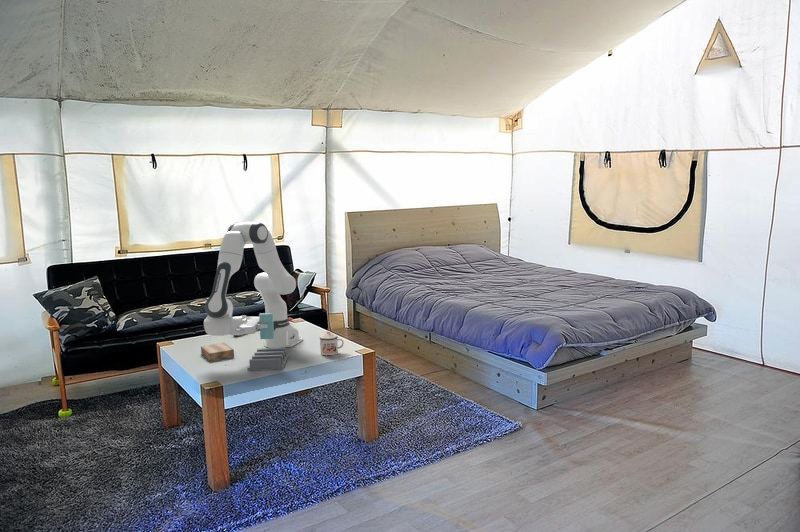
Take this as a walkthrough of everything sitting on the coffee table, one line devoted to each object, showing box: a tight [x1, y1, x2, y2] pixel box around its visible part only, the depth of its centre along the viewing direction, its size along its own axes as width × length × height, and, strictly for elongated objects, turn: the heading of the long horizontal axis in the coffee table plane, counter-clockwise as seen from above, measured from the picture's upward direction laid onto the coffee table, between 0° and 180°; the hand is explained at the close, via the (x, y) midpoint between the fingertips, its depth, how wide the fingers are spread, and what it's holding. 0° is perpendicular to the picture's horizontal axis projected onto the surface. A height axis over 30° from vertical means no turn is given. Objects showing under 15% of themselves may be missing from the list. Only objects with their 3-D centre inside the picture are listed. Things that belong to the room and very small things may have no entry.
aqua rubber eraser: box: [258, 312, 274, 340], centre depth 278 cm, size 2×6×12 cm, turn 93°
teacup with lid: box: [319, 330, 345, 357], centre depth 294 cm, size 12×9×12 cm
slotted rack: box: [247, 347, 289, 371], centre depth 281 cm, size 20×16×5 cm
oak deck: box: [200, 342, 235, 362], centre depth 296 cm, size 12×16×4 cm
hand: (268, 324), depth 278 cm, fingers closed on aqua rubber eraser, 2 cm apart
